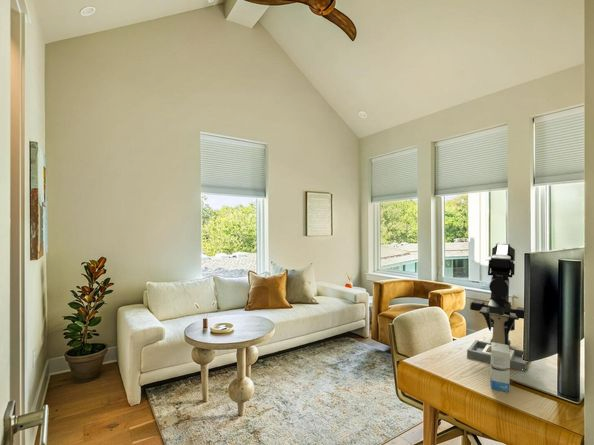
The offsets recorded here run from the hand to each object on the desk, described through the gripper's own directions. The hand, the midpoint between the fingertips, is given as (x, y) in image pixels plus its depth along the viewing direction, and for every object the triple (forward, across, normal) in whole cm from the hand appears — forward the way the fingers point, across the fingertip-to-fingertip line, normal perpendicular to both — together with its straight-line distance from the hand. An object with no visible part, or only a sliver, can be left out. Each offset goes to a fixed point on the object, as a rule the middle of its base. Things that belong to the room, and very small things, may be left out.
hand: (498, 332), depth 125 cm
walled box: (+9, 0, 0) cm, 9 cm away
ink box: (+10, +4, -24) cm, 26 cm away
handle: (+9, 0, 0) cm, 9 cm away
